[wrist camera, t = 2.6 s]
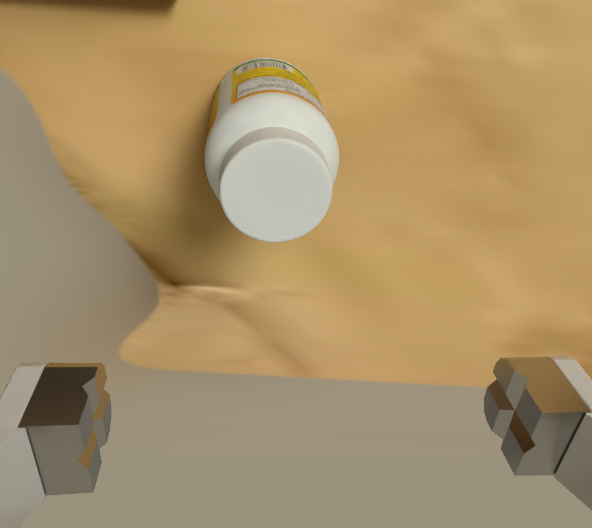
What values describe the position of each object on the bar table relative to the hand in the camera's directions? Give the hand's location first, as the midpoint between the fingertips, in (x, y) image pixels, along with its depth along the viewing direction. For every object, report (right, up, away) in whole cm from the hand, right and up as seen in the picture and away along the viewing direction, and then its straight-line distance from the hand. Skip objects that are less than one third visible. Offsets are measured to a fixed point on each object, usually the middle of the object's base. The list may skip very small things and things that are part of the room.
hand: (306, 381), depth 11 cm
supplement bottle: (-2, +10, +16) cm, 19 cm away
